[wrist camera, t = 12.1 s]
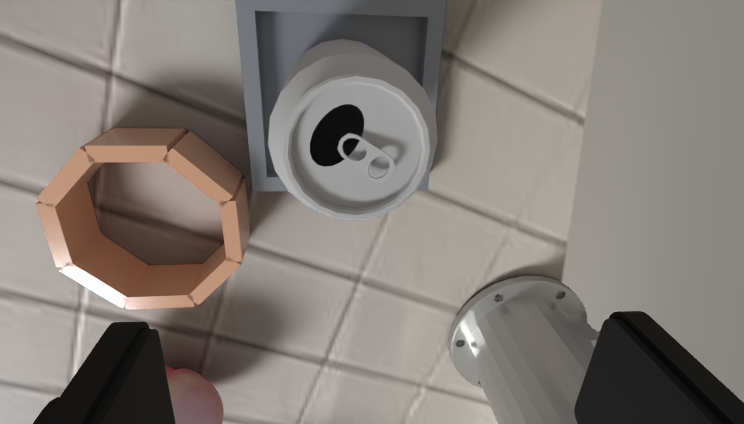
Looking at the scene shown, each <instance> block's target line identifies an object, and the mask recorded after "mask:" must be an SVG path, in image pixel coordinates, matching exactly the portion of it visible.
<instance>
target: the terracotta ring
mask: <svg viewBox="0 0 744 424" xmlns="http://www.w3.org/2000/svg"><path fill="white" fill-rule="evenodd" d="M105 162H165V163H167V164H168V165H169V166H171V167H172V168H173V169H174V170H176V171H177V172H178V173H179V174H181V175H182V176H183V177H185V178H186V179H187V180H188V181H190V182H191V183H192V184H194V185H195V186H196V187H197V188H199V189H200V190H201V191H203V192H204V193H205V194H206V195H208V196H209V197H210V198H212V199H213V200H214V201H215V202H217V203H218V204H219V205H220V212H221V220H222V228H223V236H224V244H223V245H221V246H220V247H219V248H218V249H217V250H216V251H215V252H214V253H213V254H212V255H211V256H210V257H209V258H208V259H207V260H206V261H205V262H204V263H203V264H178V265H147V264H146V263H144V262H143V261H141V260H140V259H138V258H137V257H135V256H134V255H132V254H131V253H129V252H128V251H126V250H125V249H123V248H122V247H120V246H119V245H117V244H115V243H114V242H112V241H111V240H109V239H108V238H106V237H105V236H103V235H102V234H101V233H100V230H99V226H98V222H97V218H96V214H95V211H94V207H93V203H92V199H91V196H90V192H89V188H88V184H87V182H88V181H89V180H90V179H91V178H92V176H93V175H94V174H95V173H96V172H97V171H98V170H99V168H100V167H101V166H102V165H103V164H104V163H105ZM242 175H243V174H242V173H241V172H240V171H239V170H238V169H236V168H235V167H234V166H233V165H232V164H230V163H229V162H228V161H227V160H226V159H224V158H223V157H222V156H221V155H220V154H218V153H217V152H216V151H215V150H214V149H212V148H211V147H210V146H209V145H208V144H206V143H205V142H204V141H203V140H202V139H200V138H199V137H198V136H197V135H196V134H194V133H193V132H192V131H191V130H190V131H189V132H188V133H187V134H186V129H185V128H114V129H112V130H109V131H107V132H106V133H104V134H102V135H100V136H99V137H97V138H95V139H94V140H92V141H90V142H89V143H87V144H85V145H83V146H82V147H80V148H79V149H78V150H77V151H76V153H75V154H74V155H73V156H72V157H71V158H70V160H69V161H68V162H67V163H66V164H65V166H64V167H63V168H62V169H61V170H60V171H59V173H58V174H57V175H56V176H55V177H54V179H53V180H52V181H51V182H50V183H49V184H48V186H47V187H46V188H45V189H44V190H43V192H42V193H41V194H40V195H39V196H38V197H37V200H39V202H37V203H36V207H37V210H38V213H39V216H40V219H41V222H42V225H43V228H44V231H45V235H46V238H47V241H48V244H49V247H50V250H51V253H52V256H53V259H54V262H55V265H56V267H63V268H62V269H61V270H60V272H62V273H64V274H65V275H67V276H69V277H70V278H72V279H74V280H75V281H77V282H79V283H80V284H82V285H84V286H85V287H87V288H89V289H90V290H92V291H94V292H95V293H97V294H99V295H100V296H102V297H104V298H105V299H107V300H109V301H110V302H112V303H114V304H115V305H117V306H119V307H120V308H122V307H123V306H124V305H125V304H126V308H127V310H130V309H154V308H179V307H194V306H195V304H198V305H199V304H200V303H202V302H203V301H204V300H205V299H206V298H207V297H208V296H209V295H210V294H211V293H212V292H213V291H214V290H215V289H216V288H217V287H218V286H220V285H221V284H222V283H223V282H224V281H225V280H226V279H227V278H228V277H229V276H230V275H231V274H232V273H233V272H234V271H235V270H236V269H237V268H239V267H240V266H241V263H242V261H243V257H244V254H245V251H246V247H247V244H248V240H249V237H250V234H251V232H250V221H249V211H248V200H247V190H246V180H245V178H242Z"/></svg>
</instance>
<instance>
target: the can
mask: <svg viewBox="0 0 744 424" xmlns="http://www.w3.org/2000/svg"><path fill="white" fill-rule="evenodd" d="M437 142H438V136H437V125H436V114H435V112H434V110H433V108H432V105H431V103H430V101H429V98H428V96H427V94H426V91H425V90H424V89H423V88H422V86H421V85H420V84H419V83H418V82H417V81H416V80H415V79H414V78H413V77H412V76H411V74H410V73H409V72H408V71H407V70H406V69H404V68H403V67H401V66H400V65H398V64H397V63H395V62H394V61H392V60H391V59H389V58H388V57H386V56H385V55H383V54H382V53H380V52H379V51H377V50H375V49H374V48H372V47H370V46H368V45H366V44H364V43H362V42H359V41H354V40H348V39H337V40H331V41H325V42H322V43H320V44H318V45H316V46H314V47H313V48H311V49H309V50H307V51H306V52H305V53H304V54H303V55H302V56H301V57H300V58H299V59H298V61H297V62H296V63H295V64H294V65H293V66H292V69H291V71H290V73H289V75H288V77H287V79H286V82H285V84H284V86H283V88H282V90H281V92H280V95H279V97H278V100H277V102H276V104H275V107H274V109H273V112H272V114H271V116H270V123H269V138H268V147H269V150H270V154H271V158H272V161H273V165H274V169H275V171H276V173H277V174H278V176H279V177H280V179H281V180H282V182H283V183H284V185H285V186H286V188H287V190H288V191H289V192H290V193H291V194H292V195H294V196H295V197H296V198H297V199H299V200H300V201H301V202H302V203H304V204H305V205H306V206H307V207H309V208H311V209H314V210H316V211H319V212H321V213H323V214H326V215H328V216H331V217H334V218H338V219H348V220H363V219H369V218H374V217H379V216H382V215H384V214H386V213H387V212H389V211H391V210H393V209H395V208H397V207H399V206H401V205H402V204H403V203H404V202H405V201H406V200H407V199H408V198H409V197H410V196H411V195H412V194H413V193H414V192H415V191H416V190H417V189H418V188H419V187H420V185H421V183H422V182H423V180H424V178H425V177H426V175H427V173H428V171H429V170H430V168H431V166H432V164H433V159H434V155H435V151H436V146H437Z"/></svg>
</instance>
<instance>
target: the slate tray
mask: <svg viewBox="0 0 744 424" xmlns="http://www.w3.org/2000/svg"><path fill="white" fill-rule="evenodd" d="M235 1H236V12H237V23H238V34H239V45H240V56H241V68H242V79H243V90H244V101H245V112H246V123H247V134H248V145H249V157H250V168H251V179H252V190H253V192H259V191H288V190H287V188H286V186H285V185H284V183H283V182H282V180H281V179H280V177H279V176H278V174H277V173H276V171H275V169H274V165H273V161H272V158H271V154H270V150H269V147H268V138H269V123H270V116H271V114H272V112H273V109H274V107H275V104H276V102H277V100H278V97H279V95H280V92H281V90H282V88H283V86H284V84H285V82H286V79H287V77H288V75H289V73H290V71H291V69H292V66H293V65H294V64H295V63H296V62H297V61H298V59H299V58H300V57H301V56H302V55H303V54H304V53H305V52H306V51H307V50H309V49H311V48H313V47H314V46H316V45H318V44H320V43H322V42H325V41H331V40H337V39H348V40H354V41H359V42H362V43H364V44H366V45H368V46H370V47H372V48H374V49H375V50H377V51H379V52H380V53H382V54H383V55H385V56H386V57H388V58H389V59H391V60H392V61H394V62H395V63H397V64H398V65H400V66H401V67H403V68H404V69H406V70H407V71H408V72H409V73H410V74H411V76H412V77H413V78H414V79H415V80H416V81H417V82H418V83H419V84H420V85H421V86H422V88H423V89H424V90H425V91H426V94H427V96H428V98H429V101H430V103H431V105H432V108H433V110H434V112H436V102H437V92H438V81H439V71H440V61H441V51H442V41H443V30H444V20H445V10H446V0H235ZM429 174H430V170H429V171H428V173H427V175H426V177H425V178H424V180H423V182H422V183H421V185H420V187H419V188H418V189H417V190H428V184H429Z"/></svg>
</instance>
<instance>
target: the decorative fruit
mask: <svg viewBox="0 0 744 424" xmlns="http://www.w3.org/2000/svg"><path fill="white" fill-rule="evenodd" d="M165 370H166V375H167V380H168V386H169V391H170V396H171V402H172V407H173V412H174V418H175V423H176V424H222V420H223V404H222V400H221V398H220V395H219V393H218V391H217V390H216V389H215V387H214V386H213V385H212V384H211V383H210V382H209V381H208V380H207V379H205V378H204V377H203V376H201V375H200V374H199V373H197V372H195V371H193V370H190V369H187V368H181V369H173V368H171V367H168V366H165Z"/></svg>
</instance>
